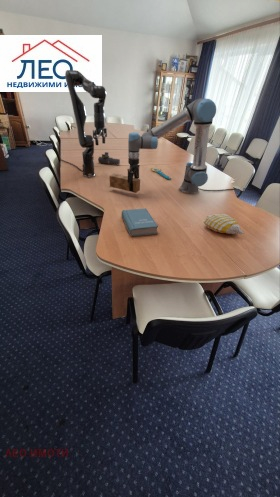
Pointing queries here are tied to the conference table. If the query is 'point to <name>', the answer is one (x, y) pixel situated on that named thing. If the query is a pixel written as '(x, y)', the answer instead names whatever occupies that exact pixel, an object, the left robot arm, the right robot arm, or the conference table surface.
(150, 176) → the conference table surface
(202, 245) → the conference table surface
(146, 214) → the book
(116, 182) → the bar
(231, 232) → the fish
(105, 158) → the laser sight
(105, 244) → the conference table surface
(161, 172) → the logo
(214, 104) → the right robot arm
